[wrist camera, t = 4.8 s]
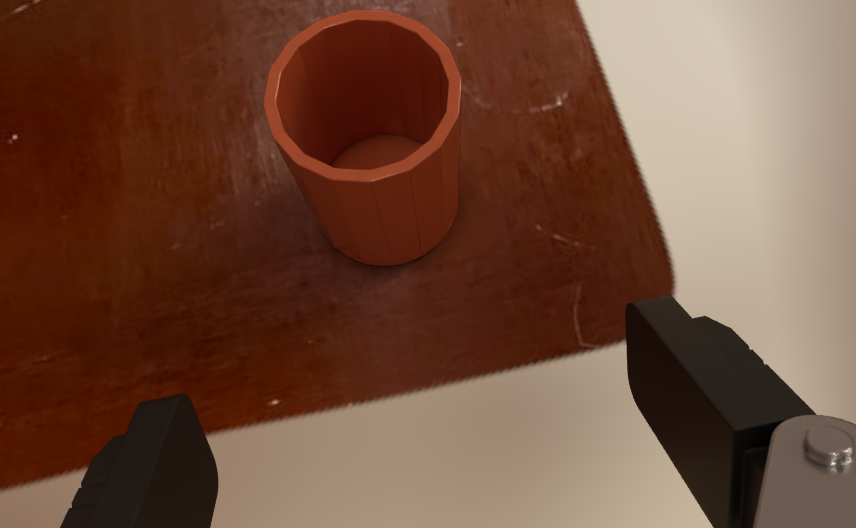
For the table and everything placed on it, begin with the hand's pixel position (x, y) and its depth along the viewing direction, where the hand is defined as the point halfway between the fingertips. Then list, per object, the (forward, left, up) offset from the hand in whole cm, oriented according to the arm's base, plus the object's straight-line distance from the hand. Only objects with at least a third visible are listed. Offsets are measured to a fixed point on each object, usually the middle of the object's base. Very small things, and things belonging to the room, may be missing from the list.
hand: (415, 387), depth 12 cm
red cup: (-5, -9, -13) cm, 17 cm away
